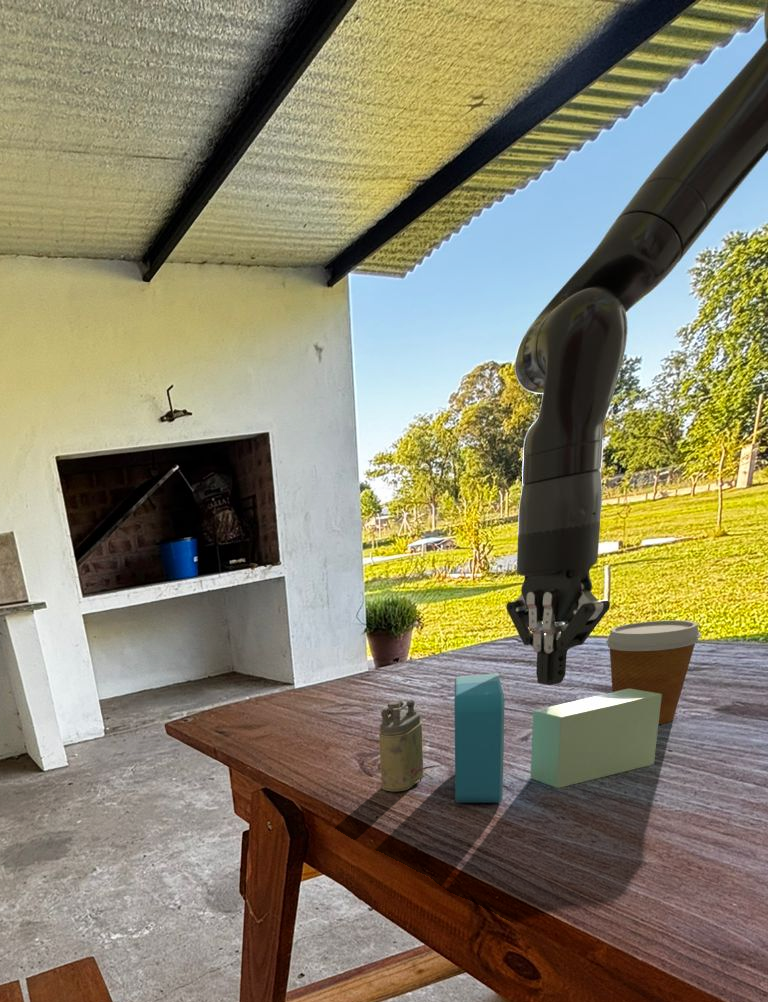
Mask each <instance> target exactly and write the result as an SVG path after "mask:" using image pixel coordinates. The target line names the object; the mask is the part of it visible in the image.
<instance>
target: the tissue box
mask: <svg viewBox="0 0 768 1002" xmlns="http://www.w3.org/2000/svg"><path fill="white" fill-rule="evenodd" d="M661 697H662V694H659V693H653V692H647V691H641V690H635V689H624V690H620V691H616V692H608V693H603V694H598V695H594V696H590V697H585V698H582V699H577V700H572V701H568V702H564V703H559V704H556V705H550V706H547V707H542V708H538V709H534V710H532V727H531V728H532V730H531V754H530V756H531V757H530V779H531V780H535V781H538V782H540V783H543V784H545V785H547V786H550V787H553V788H555V789H560V788H565V787H568V786H572V785H576V784H580V783H584V782H589V781H593V780H597V779H601V778H604V777H608V776H613V775H617V774H622V773H625V772H629V771H632V770H633V771H634V770H637V769H641V768H645V767H650V766H654V765H655V758H656V751H657V742H658V741H657V740H658V731H659V725H660V724H659V715H660V706H661Z"/></svg>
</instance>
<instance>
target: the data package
mask: <svg viewBox="0 0 768 1002" xmlns="http://www.w3.org/2000/svg"><path fill="white" fill-rule="evenodd" d="M502 686H503V685H502V682H501V678H500V675H499V673H496V672H495V673H486V674H474V675H473V674H471V675H461V676H460V675H459V676H456V677H454V795H455V796H454V798H455V799H454V801H455V802H456V803H457V804H482V803H483V804H486V803H487V804H488V803H489V804H490V803H491V804H492V803H493V804H494V803H495V804H497V803H501V802H502V801H503V797H504V795H503V794H504V755H505V754H504V751H505V748H504V747H505V693H504V689H503V687H502Z"/></svg>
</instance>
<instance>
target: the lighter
mask: <svg viewBox="0 0 768 1002" xmlns="http://www.w3.org/2000/svg"><path fill="white" fill-rule="evenodd" d="M406 707H407V711H402V710H403V709H405V708H406ZM380 715H381V719H382V720H381V723H380V724H379V733H378V739H379V740H378V741H379V756H380V757H379V758H380V777H381V784H380V788H381V789H382V790H383V791H386V792H403V791H404V792H405V791H407V790H409V789H411V788H412V787H413V786H414V785H418V784H420V783H421V779H423V778H424V777H425V772H424V748H423V747H424V745H423V722H422V721H421V713H420V712H419V711H416V710H415V700H413V699H410V700H407V701H406V703H405V704H404V702H403V700H398V701H391V702H389V703H387V708H383V709H382V710H381V711H380Z"/></svg>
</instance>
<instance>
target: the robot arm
mask: <svg viewBox="0 0 768 1002" xmlns="http://www.w3.org/2000/svg"><path fill="white" fill-rule="evenodd" d="M763 16H764V17H763V19H764V21H763V22H764V23H763V30H764V31H763V32H764V40H765V41H764V42H763V44H762V45H761V46H760V47H759V49H758V50H757V51H756V52H755V53H754V54H753V56H752V57H751V58H750V59H749V61H748V62H747V63H746V64H745V66H744V67H743V68H742V69H741V70H740V71H739V72H738V73H737V74H736V76H735V77H734V78H733V79H732V80H731V81H730V83H729V84H728V85H727V86H726V87H725V88H724V89H723V90H722V92H721V93H720V94H719V95H718V96H717V97H716V98H715V99H714V100H713V101H712V102H711V104H710V105H709V106H708V107H707V108H706V109H705V110H704V112H703V113H702V114H700V116H699V117H698V118H697V119H696V120H695V122H693V124H692V125H691V126H690V127H689V129H688V130H687V131H686V132H685V133H684V134H683V135H682V137H681V138H680V139H679V140H678V141H677V142H676V143H675V144H674V145H673V147H672V148H671V149H670V150H669V151H668V152H667V154H666V155H665V156H664V157H663V158H662V160H660V162H659V163H658V164H657V165H656V167H655V168H654V169H653V170H652V172H651V173H650V174H649V176H648V177H646V179H645V181H644V182H643V183H642V184H641V186H640V187H639V189H638V190H637V191H636V193H635V194H634V196H632V198H631V199H630V201H629V202H628V203H627V205H625V207H624V208H623V210H622V211H621V213H619V215H618V217H617V218H616V219H615V221H614V222H613V224H612V225H611V226H610V228H609V229H608V230H607V232H606V234H605V235H604V236H603V238H602V239H601V241H600V242H599V244H598V245H597V247H596V248H595V249H594V251H593V252H592V253H591V254H590V256H589V257H588V258H587V259H586V261H585V262H583V264H582V265H581V266H580V267H579V268H578V269H577V270H576V271H575V272H574V273H573V274H572V276H571V277H570V278H569V279H568V281H566V282H565V284H564V285H563V286H562V287H561V288H560V290H558V292H557V293H556V294H555V295H554V296H553V297H552V299H551V300H550V301H549V302H548V303H547V304H546V306H545V307H544V308H543V309H542V311H540V313H539V314H538V315H537V317H536V318H535V319H534V320H533V322H532V323H531V324H530V326H529V327H528V329H527V331H525V333H524V334H523V337H522V338H521V341H520V343H519V345H518V348H517V350H516V354H515V361H514V370H515V372H514V373H515V377H516V379H517V381H518V383H519V385H520V386H521V387H522V388H523V389H524V390H526V391H527V392H529V393H530V392H531V393H533V394H538V395H539V394H540V395H541V394H542V396H541V397H542V398H541V404H540V410H539V414H538V417H537V418H536V419H535V421H534V422H533V423H532V424H531V426H530V427H529V428H528V429H527V430H526V431H527V432H526V434H525V437H524V440H523V441H524V442H523V450H522V475H521V477H522V479H521V480H522V481H521V485H522V486H521V493H520V499H519V506H518V516H517V517H518V518H517V519H518V520H517V552H516V553H517V556H516V573H517V574H518V575H520V576H521V577H524V578H523V583H522V585H521V587H520V588H521V589H520V591H521V593H520V595H519V596H518V597H517V598H516V599H515V600H513V601H509V602H507V603H506V605H505V606H506V612H507V613H508V616H509V618H510V620H511V621H512V623H513V625H514V627H515V629H516V631H517V633H518V636H519V637H520V639H521V642H522V644H523V645H524V646H531V647H532V648H533V649H532V650H533V651H534V652H535V653H536V670H535V671H536V672H535V674H536V678H537V683H538V684H539V685H545V686H553V685H557V684H561V683H562V682H563V681H564V679H565V676H566V673H567V672H566V671H567V670H566V668H567V654H568V651H569V650H570V649H571V648H574V647H579V646H582V645H583V644H584V643H585V642H586V640H587V639H588V638H589V636H590V635H591V634H592V632H593V631H594V630H595V629H596V627H597V626H598V624H599V623H600V622H601V620H602V619H603V617H604V616H605V615H606V613H607V612H608V611H609V609H610V608H611V603H610V601H609V600H608V599H601V600H599V599H598V598H597V597H596V596H595V595H594V594H593V593H592V589H593V582H592V579H591V575H590V571H591V568H592V567H593V566H595V565H596V564H597V562H598V560H599V558H598V557H599V544H600V534H601V533H600V531H601V517H602V506H603V505H602V503H603V485H602V470H601V469H602V464H603V451H604V450H603V449H604V448H603V447H604V427H605V426H604V425H605V421H606V418H607V415H608V412H609V409H610V407H611V403H612V400H613V397H614V393H615V390H616V386H617V382H618V379H619V376H620V371H621V369H622V364H623V360H624V356H625V353H626V348H627V347H626V346H627V339H628V317H627V313H628V312H629V310H630V309H631V308H633V307H634V306H635V305H636V304H638V302H640V301H641V300H642V299H644V298H645V297H646V296H648V295H649V294H651V293H652V292H653V291H654V290H655V289H656V288H657V287H659V285H660V284H661V283H662V282H663V281H664V280H665V279H666V278H667V277H668V276H669V274H670V273H671V272H672V271H673V270H674V269H675V267H676V266H677V265H678V263H680V261H681V260H682V259H683V258H684V256H685V255H686V254H687V253H688V251H689V250H690V249H691V247H692V246H693V245H694V244H695V243H696V241H697V240H698V238H699V237H700V236H701V235H702V234H703V232H704V231H705V230H706V228H707V227H708V226H709V225H710V223H711V222H712V221H713V220H714V218H716V216H717V214H718V213H719V212H720V211H721V209H723V207H724V206H725V204H727V202H728V201H729V199H730V198H731V197H732V196H733V195H734V193H735V192H736V191H737V190H738V188H739V187H740V186H741V185H742V183H743V182H744V181H745V180H746V178H747V177H748V176H749V175H750V173H751V172H752V171H753V170H754V169H755V167H756V166H757V165H758V164H759V162H761V160H762V159H763V158H764V157H765V155H766V154H767V153H768V0H766V1H765V6H764V15H763Z"/></svg>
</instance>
